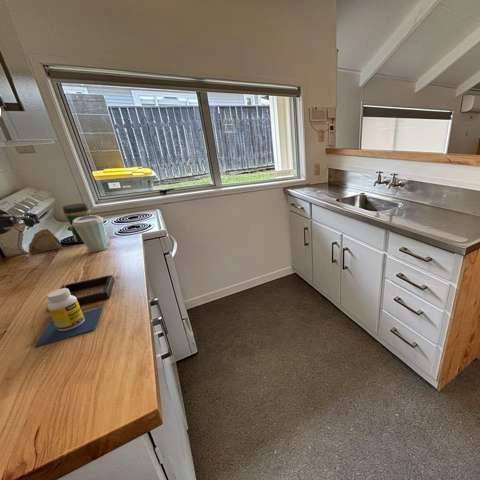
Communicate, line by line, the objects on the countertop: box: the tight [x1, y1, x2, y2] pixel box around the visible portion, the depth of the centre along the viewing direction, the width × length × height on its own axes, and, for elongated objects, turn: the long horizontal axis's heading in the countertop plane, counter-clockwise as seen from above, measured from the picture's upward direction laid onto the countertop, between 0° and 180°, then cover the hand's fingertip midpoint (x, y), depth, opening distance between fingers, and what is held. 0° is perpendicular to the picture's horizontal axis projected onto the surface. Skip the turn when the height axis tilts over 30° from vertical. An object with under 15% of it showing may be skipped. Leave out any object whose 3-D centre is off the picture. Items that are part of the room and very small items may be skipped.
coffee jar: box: [62, 202, 91, 244], centre depth 126 cm, size 10×8×19 cm
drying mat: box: [34, 307, 103, 348], centre depth 67 cm, size 11×11×1 cm
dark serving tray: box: [59, 274, 115, 307], centre depth 80 cm, size 13×13×2 cm
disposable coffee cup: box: [72, 214, 108, 253], centre depth 115 cm, size 11×11×15 cm
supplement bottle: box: [46, 288, 85, 331], centre depth 65 cm, size 5×5×10 cm
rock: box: [28, 228, 63, 255], centre depth 117 cm, size 11×9×10 cm
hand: (6, 227), depth 64 cm, fingers open, 8 cm apart
